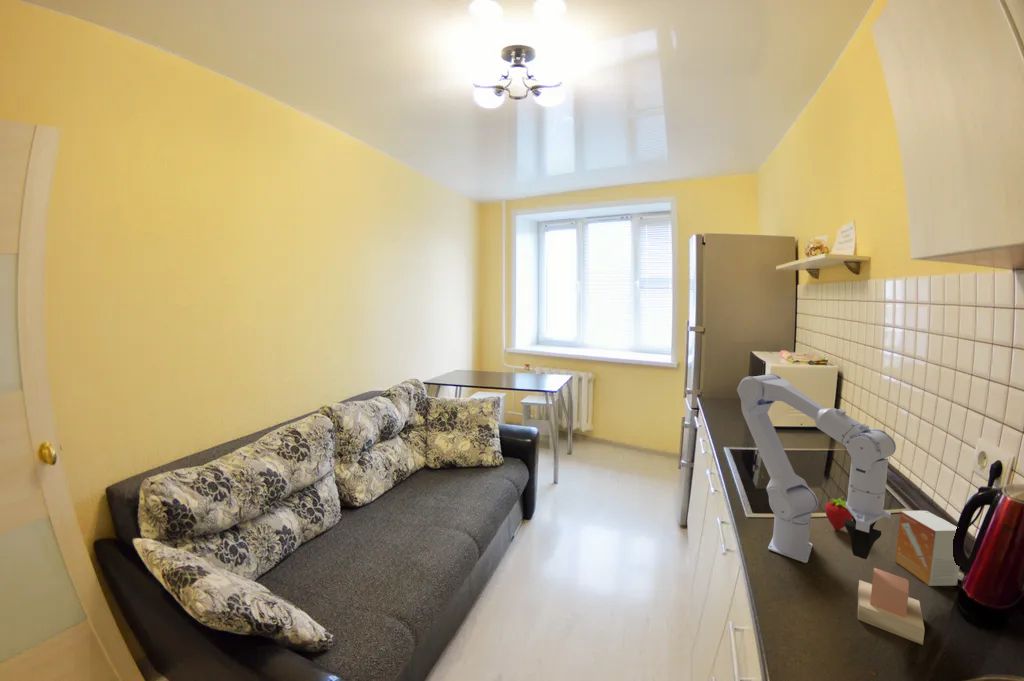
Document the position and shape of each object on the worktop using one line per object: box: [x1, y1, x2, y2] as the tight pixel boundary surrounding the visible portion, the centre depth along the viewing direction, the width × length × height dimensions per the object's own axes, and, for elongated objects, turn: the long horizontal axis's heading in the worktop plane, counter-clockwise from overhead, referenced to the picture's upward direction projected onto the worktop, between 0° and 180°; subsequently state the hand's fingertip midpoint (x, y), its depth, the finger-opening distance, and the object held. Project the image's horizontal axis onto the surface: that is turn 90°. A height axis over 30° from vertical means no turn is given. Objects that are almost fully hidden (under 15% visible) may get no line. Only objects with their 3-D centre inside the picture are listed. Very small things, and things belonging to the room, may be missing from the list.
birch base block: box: [857, 579, 925, 646], centre depth 79 cm, size 9×9×4 cm
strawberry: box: [824, 496, 853, 531], centre depth 107 cm, size 6×8×10 cm
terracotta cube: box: [870, 567, 910, 618], centre depth 78 cm, size 5×5×5 cm
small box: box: [894, 510, 960, 587], centre depth 90 cm, size 8×6×13 cm
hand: (860, 547), depth 86 cm, fingers open, 7 cm apart
